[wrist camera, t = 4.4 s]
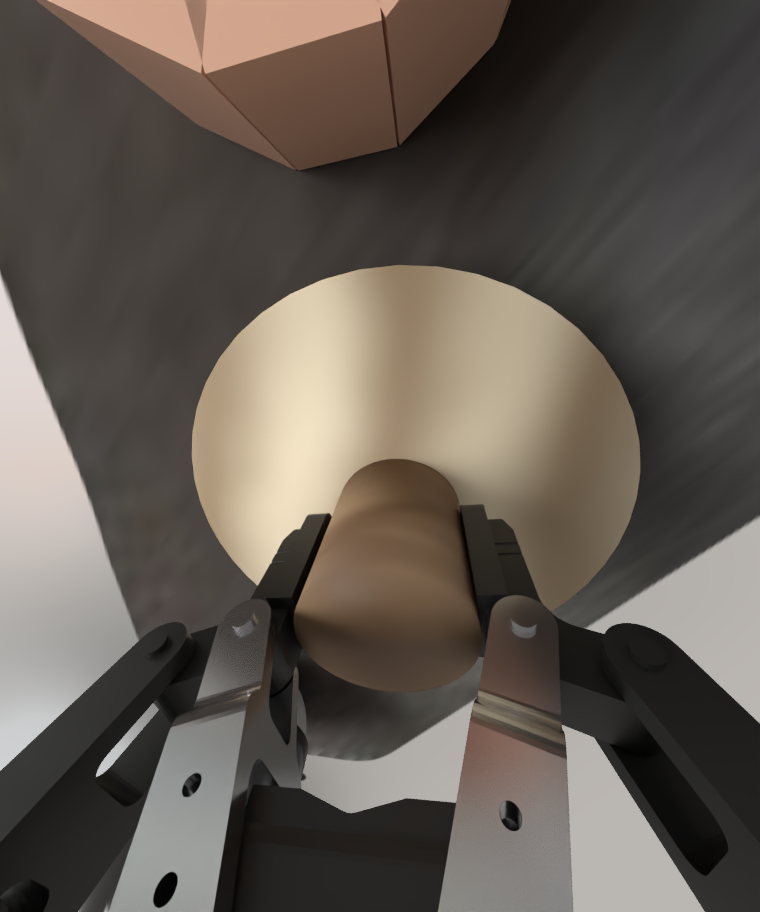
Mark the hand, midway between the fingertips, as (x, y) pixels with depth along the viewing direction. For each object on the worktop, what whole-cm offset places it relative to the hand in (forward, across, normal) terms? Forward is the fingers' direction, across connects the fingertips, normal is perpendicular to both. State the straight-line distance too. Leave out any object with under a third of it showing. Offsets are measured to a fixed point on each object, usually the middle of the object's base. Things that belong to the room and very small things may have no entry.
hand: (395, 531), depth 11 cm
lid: (+2, 0, 0) cm, 2 cm away
